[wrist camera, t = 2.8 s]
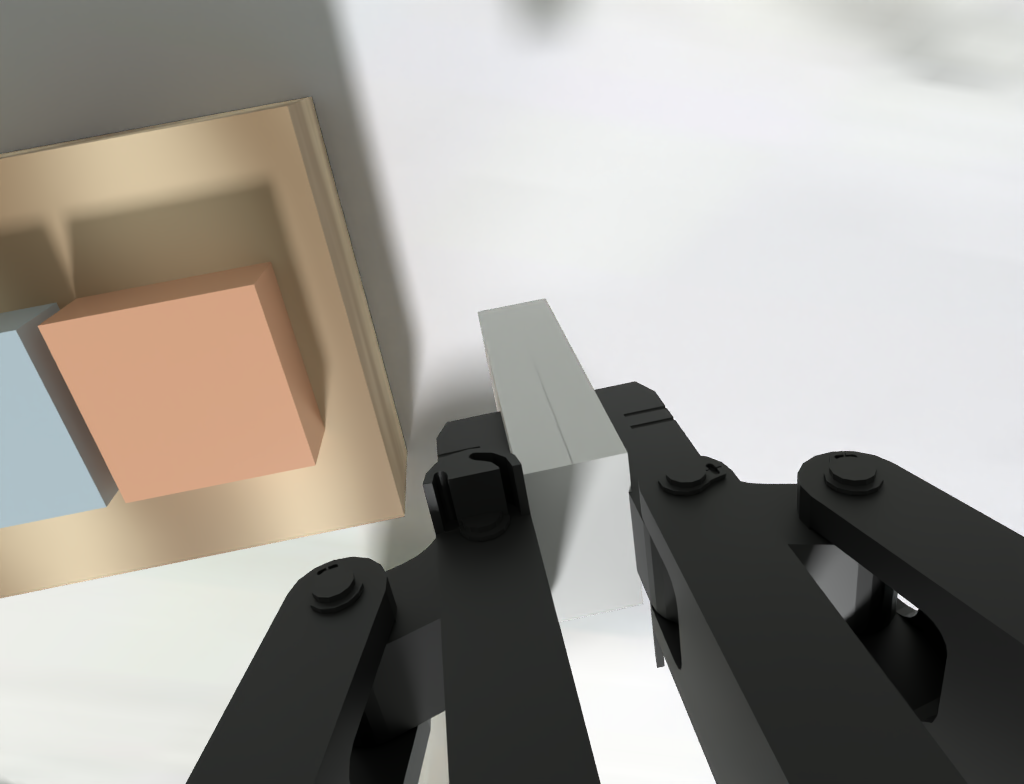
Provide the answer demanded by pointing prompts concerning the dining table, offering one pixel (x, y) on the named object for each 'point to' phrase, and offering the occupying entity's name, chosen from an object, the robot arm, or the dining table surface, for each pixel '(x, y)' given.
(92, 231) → the tan square panel
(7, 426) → the tile
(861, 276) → the dining table surface
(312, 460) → the tile
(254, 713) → the robot arm
